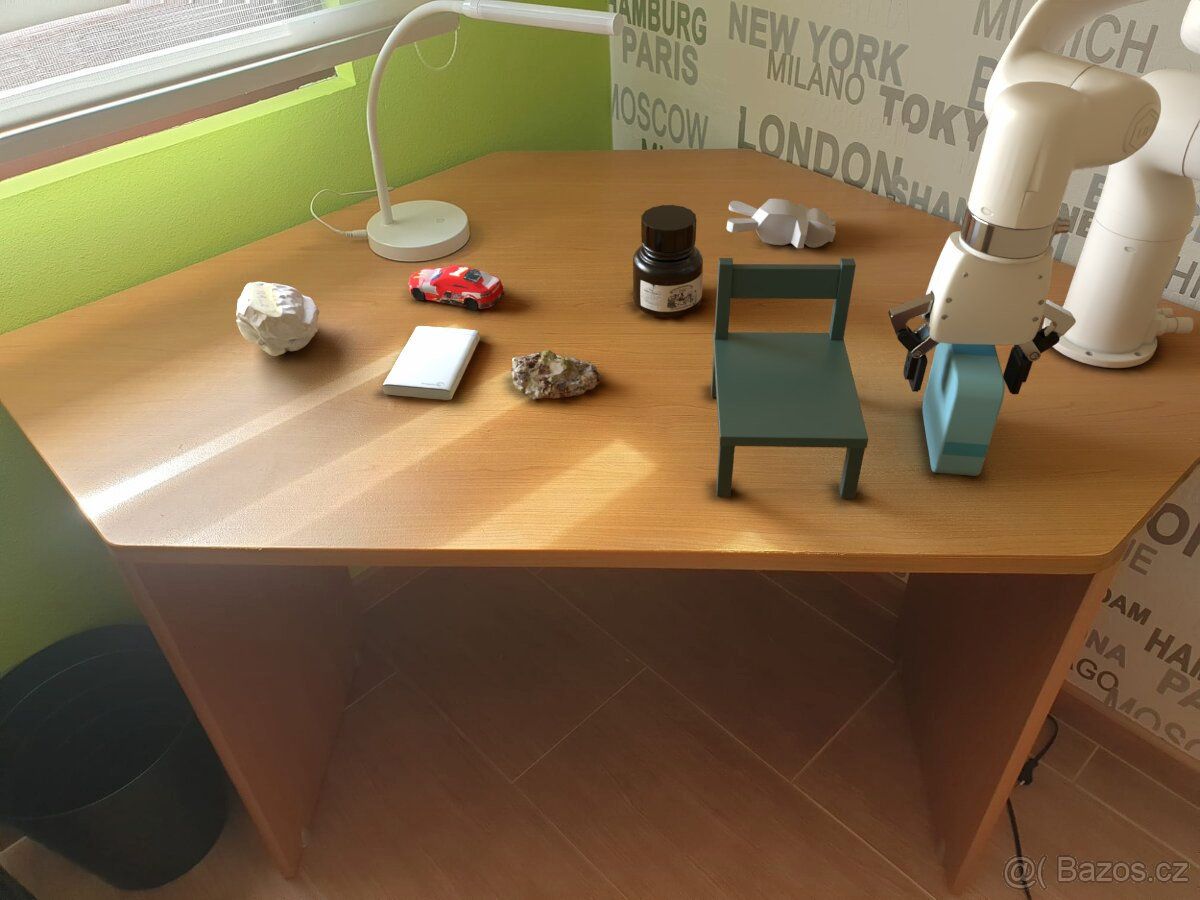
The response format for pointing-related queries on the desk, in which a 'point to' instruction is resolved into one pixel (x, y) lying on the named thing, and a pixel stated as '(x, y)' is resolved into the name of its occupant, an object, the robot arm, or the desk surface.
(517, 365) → the mineral rock
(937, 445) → the light blue rounded block
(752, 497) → the desk surface
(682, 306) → the ink bottle
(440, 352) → the hard drive
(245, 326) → the white rounded lump
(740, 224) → the bunny figurine
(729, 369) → the chair
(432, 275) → the race car
